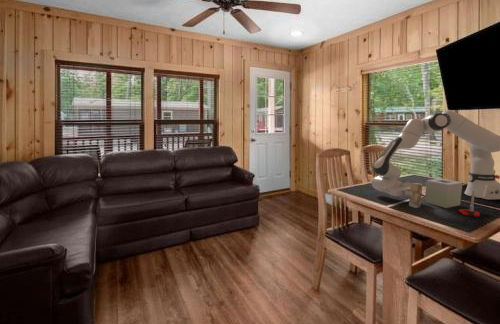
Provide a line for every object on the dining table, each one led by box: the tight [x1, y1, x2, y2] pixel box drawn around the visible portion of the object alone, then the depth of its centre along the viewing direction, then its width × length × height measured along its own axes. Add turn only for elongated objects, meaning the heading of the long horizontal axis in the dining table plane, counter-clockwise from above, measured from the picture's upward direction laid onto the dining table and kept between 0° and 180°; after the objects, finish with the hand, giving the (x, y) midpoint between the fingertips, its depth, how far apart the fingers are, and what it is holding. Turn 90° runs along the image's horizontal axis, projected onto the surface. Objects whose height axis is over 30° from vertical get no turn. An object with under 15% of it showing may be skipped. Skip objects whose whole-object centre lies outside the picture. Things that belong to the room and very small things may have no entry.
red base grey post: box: [458, 191, 481, 218], centre depth 142 cm, size 8×13×9 cm
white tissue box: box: [424, 177, 463, 209], centre depth 158 cm, size 12×12×13 cm
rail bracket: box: [408, 182, 423, 209], centre depth 154 cm, size 4×4×13 cm
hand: (417, 193), depth 153 cm, fingers closed on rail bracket, 4 cm apart
